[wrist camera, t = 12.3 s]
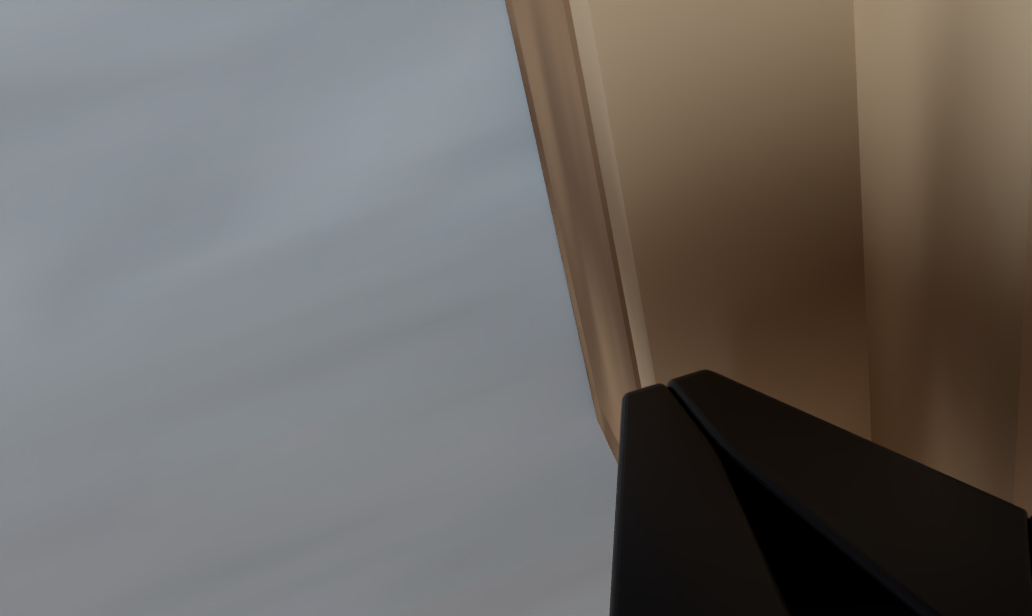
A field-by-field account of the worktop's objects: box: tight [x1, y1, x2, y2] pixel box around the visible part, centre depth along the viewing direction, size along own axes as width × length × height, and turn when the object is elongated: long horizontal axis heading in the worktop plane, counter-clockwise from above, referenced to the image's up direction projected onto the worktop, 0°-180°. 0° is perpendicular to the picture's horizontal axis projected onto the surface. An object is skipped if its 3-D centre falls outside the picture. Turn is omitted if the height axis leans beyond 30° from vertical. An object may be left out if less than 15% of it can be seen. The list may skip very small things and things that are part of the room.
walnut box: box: [505, 0, 642, 463], centre depth 13 cm, size 9×12×4 cm
